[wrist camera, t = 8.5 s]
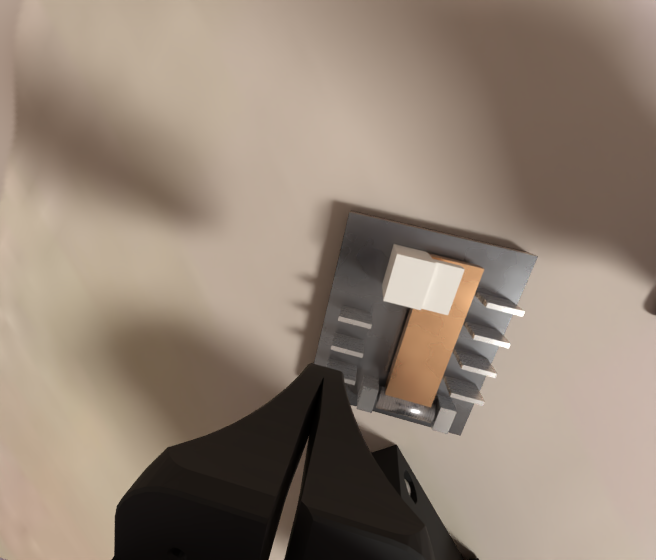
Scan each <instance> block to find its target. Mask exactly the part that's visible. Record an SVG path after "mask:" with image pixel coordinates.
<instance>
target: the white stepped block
mask: <svg viewBox="0 0 656 560" xmlns="http://www.w3.org/2000/svg"><path fill="white" fill-rule="evenodd" d="M464 270H465V269H464V268H463V267H462V266H460V265H456V264H452V263H448V262H444V261H440V260H436V259H432V257H431V256H430V255H429V254H428V253H427V252H425V251H421V250H417V249H413V248H409V247H404V246H400V245H396V244H394V245H393V248H392V252H391V255H390V259H389V262H388V266H387V269H386V273H385V276H384V280H383V283H382V289H383V301H386V302H390V303H394V304H398V305H402V306H406V307H410V308H413V309H417V310H421V309H425V310H429V311H433V312H437V313H441V314H444V315H448V314H449V311H450V309H451V306H452V303H453V300H454V298H455V295H456V292H457V289H458V287H459V284H460V281H461V278H462V276H463V273H464Z"/></svg>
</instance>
